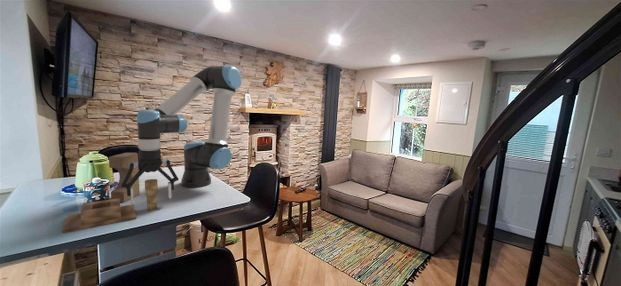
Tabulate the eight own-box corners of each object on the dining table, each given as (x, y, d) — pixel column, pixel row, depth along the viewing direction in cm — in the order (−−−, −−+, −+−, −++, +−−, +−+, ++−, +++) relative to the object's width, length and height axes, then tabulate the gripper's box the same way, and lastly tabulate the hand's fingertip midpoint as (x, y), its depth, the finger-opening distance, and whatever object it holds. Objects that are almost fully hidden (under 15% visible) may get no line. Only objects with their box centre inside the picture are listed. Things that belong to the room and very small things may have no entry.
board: (133, 206, 107) (133, 195, 106) (136, 218, 96) (135, 206, 95) (68, 217, 95) (67, 204, 94) (62, 232, 84) (61, 218, 83)
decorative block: (123, 202, 110) (120, 157, 108) (110, 202, 110) (107, 156, 108) (140, 194, 121) (138, 152, 119) (128, 193, 121) (126, 152, 119)
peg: (157, 205, 109) (156, 178, 107) (159, 209, 106) (158, 181, 104) (145, 207, 106) (144, 179, 105) (146, 211, 103) (145, 182, 101)
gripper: (181, 146, 113) (182, 192, 116) (110, 149, 98) (114, 203, 101) (185, 148, 107) (186, 197, 110) (110, 152, 92) (114, 209, 95)
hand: (151, 200), depth 106 cm, fingers open, 12 cm apart
